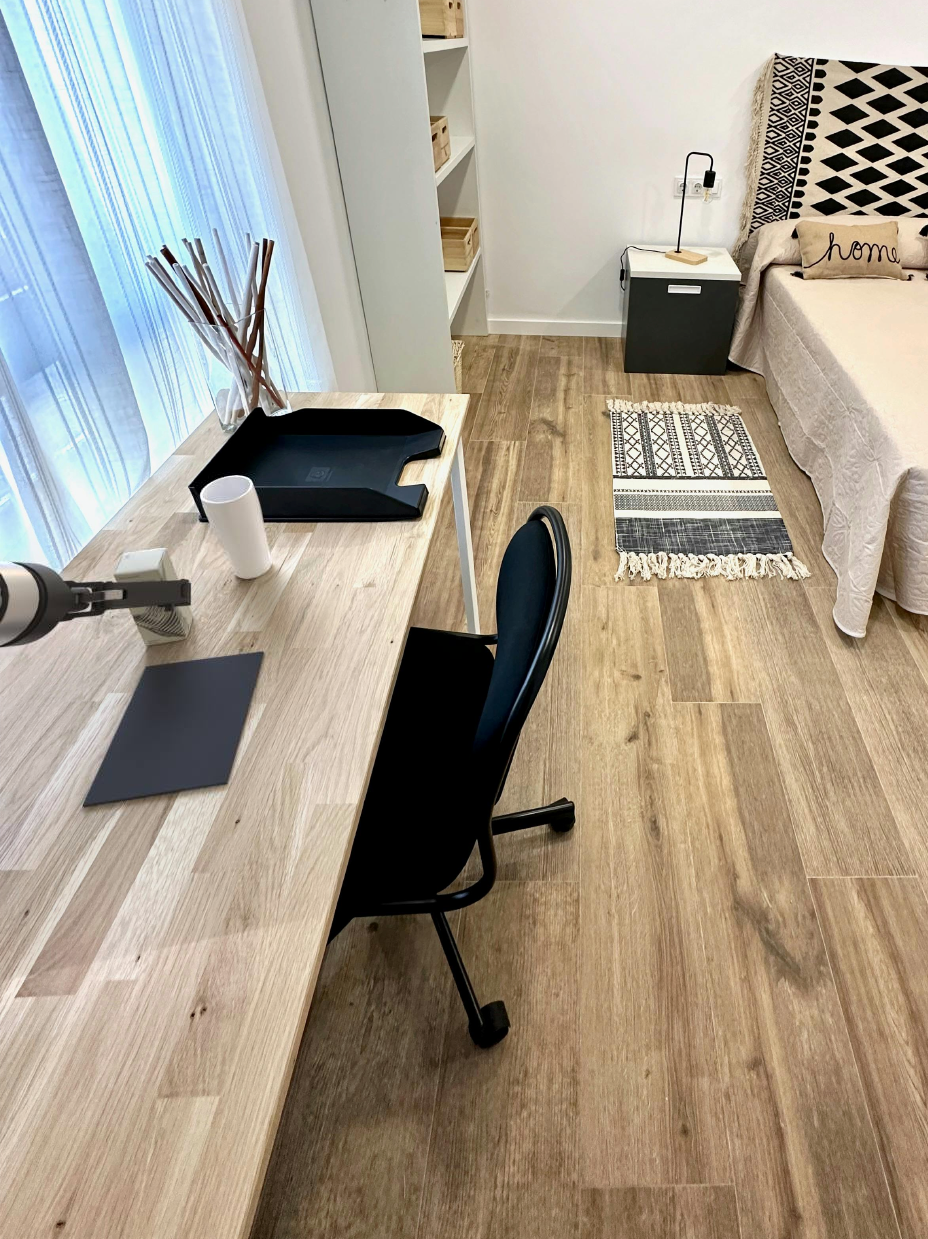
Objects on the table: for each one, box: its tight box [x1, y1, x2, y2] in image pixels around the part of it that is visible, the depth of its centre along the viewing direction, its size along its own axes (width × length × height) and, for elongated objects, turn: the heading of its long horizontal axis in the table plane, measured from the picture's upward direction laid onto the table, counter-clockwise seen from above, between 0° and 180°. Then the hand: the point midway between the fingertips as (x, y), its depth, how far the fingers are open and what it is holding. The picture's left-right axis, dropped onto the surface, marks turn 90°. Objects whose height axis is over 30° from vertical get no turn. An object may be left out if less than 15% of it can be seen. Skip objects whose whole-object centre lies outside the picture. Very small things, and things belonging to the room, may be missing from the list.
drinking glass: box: [199, 475, 273, 580], centre depth 95 cm, size 7×7×15 cm
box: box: [113, 547, 194, 646], centre depth 85 cm, size 5×4×13 cm
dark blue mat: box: [82, 650, 265, 808], centre depth 78 cm, size 14×18×1 cm
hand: (125, 601), depth 78 cm, fingers open, 13 cm apart
